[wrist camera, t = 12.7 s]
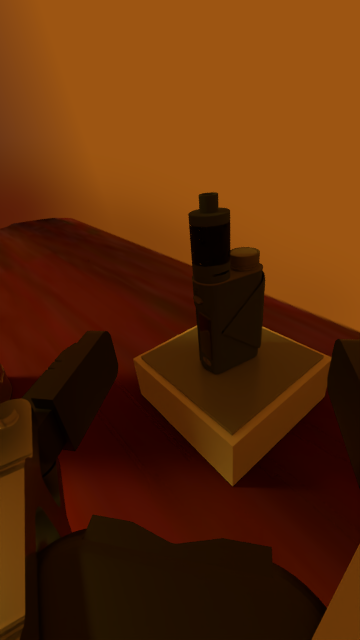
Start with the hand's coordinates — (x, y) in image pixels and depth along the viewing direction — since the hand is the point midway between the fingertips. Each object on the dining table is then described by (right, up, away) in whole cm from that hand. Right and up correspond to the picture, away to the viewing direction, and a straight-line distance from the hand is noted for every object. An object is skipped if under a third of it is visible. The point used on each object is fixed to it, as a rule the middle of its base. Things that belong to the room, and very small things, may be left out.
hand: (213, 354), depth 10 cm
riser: (+3, -5, +14) cm, 15 cm away
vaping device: (+3, -2, +12) cm, 12 cm away
